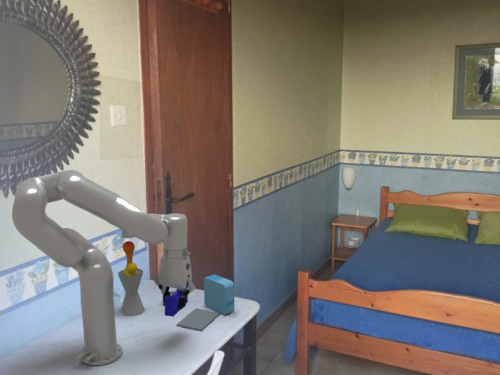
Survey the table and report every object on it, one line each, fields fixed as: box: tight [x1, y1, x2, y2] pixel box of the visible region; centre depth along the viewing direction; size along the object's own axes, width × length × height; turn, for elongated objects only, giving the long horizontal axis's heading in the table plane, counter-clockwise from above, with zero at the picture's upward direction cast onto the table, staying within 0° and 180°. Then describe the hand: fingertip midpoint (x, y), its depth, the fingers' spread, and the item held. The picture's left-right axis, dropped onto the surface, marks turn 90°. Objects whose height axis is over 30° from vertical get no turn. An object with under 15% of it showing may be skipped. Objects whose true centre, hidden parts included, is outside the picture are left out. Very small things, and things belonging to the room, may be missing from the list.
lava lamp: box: [117, 230, 145, 317], centre depth 184 cm, size 9×9×35 cm
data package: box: [203, 273, 235, 316], centre depth 187 cm, size 12×4×12 cm, turn 45°
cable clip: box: [164, 285, 189, 318], centre depth 163 cm, size 12×4×6 cm, turn 166°
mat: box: [175, 307, 221, 332], centre depth 179 cm, size 14×10×1 cm
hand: (174, 305), depth 163 cm, fingers closed on cable clip, 5 cm apart
